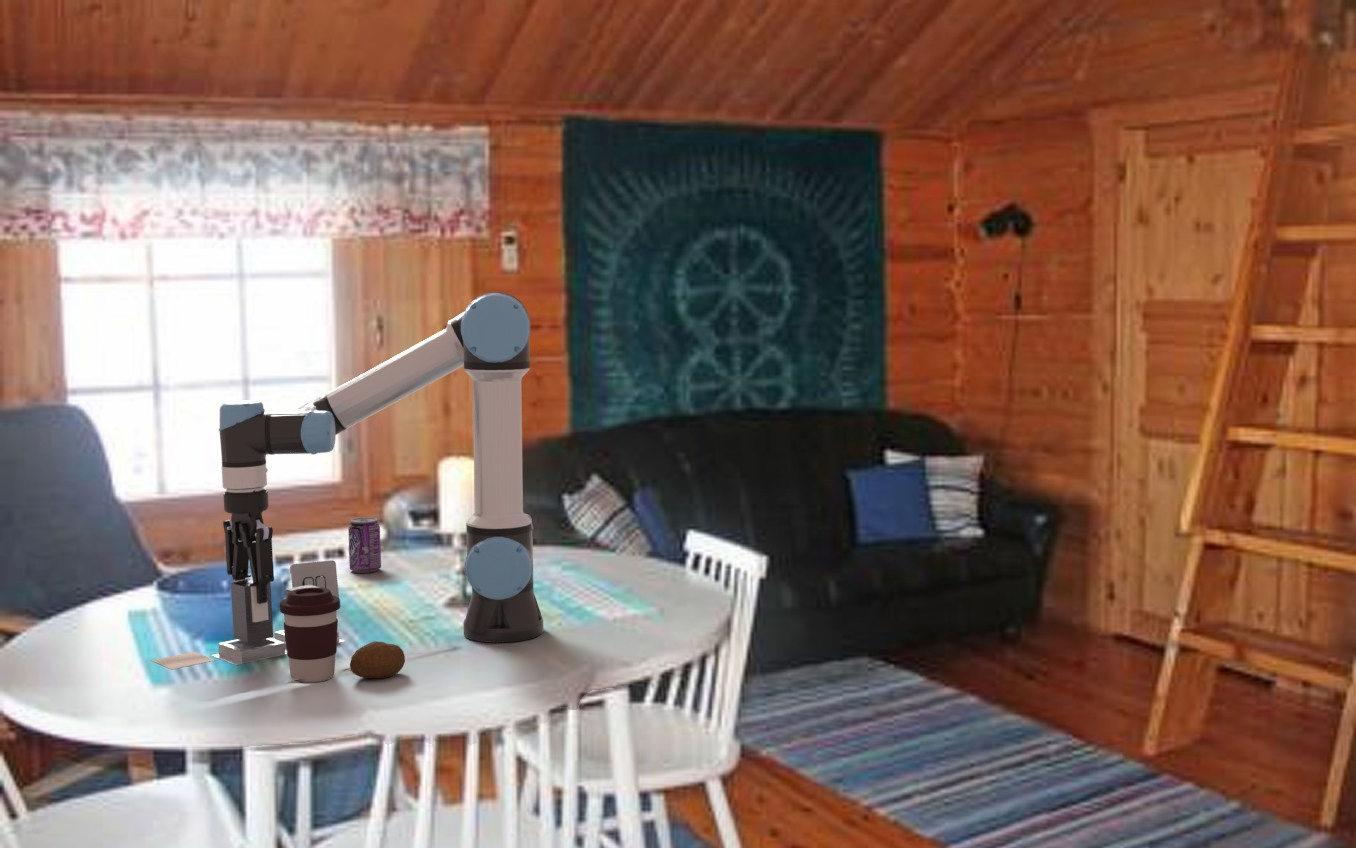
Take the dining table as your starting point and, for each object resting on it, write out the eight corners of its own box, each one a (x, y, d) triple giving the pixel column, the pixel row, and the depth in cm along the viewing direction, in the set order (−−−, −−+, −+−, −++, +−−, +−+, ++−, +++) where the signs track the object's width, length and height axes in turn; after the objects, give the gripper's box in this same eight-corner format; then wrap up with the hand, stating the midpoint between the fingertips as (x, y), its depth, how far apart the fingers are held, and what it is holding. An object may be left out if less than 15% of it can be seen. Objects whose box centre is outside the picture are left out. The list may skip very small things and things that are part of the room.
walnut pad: (215, 665, 250) (215, 660, 250) (172, 675, 245) (171, 669, 245) (194, 657, 256) (194, 651, 256) (151, 666, 250) (151, 660, 250)
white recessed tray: (346, 646, 263) (345, 630, 262) (236, 670, 247) (235, 653, 247) (320, 637, 269) (320, 622, 269) (211, 660, 254) (210, 644, 253)
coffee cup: (319, 666, 250) (315, 582, 248) (354, 676, 243) (351, 590, 242) (270, 679, 242) (267, 592, 240) (306, 689, 236) (302, 600, 234)
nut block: (273, 637, 254) (270, 582, 253) (247, 642, 250) (244, 587, 249) (259, 632, 257) (256, 578, 256) (233, 638, 254) (230, 582, 253)
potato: (414, 675, 244) (413, 640, 243) (364, 687, 237) (363, 651, 236) (393, 668, 248) (392, 633, 248) (343, 679, 242) (342, 643, 241)
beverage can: (348, 569, 331) (346, 518, 329) (379, 567, 333) (378, 516, 332) (351, 575, 324) (349, 523, 323) (382, 573, 326) (381, 521, 325)
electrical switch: (294, 610, 291) (291, 565, 291) (289, 607, 296) (287, 563, 296) (340, 605, 295) (337, 561, 295) (334, 603, 300) (332, 558, 300)
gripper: (290, 491, 247) (297, 622, 250) (240, 481, 260) (246, 606, 263) (251, 496, 242) (258, 630, 245) (201, 486, 255) (208, 614, 257)
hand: (252, 617), depth 254 cm, fingers closed on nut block, 5 cm apart
